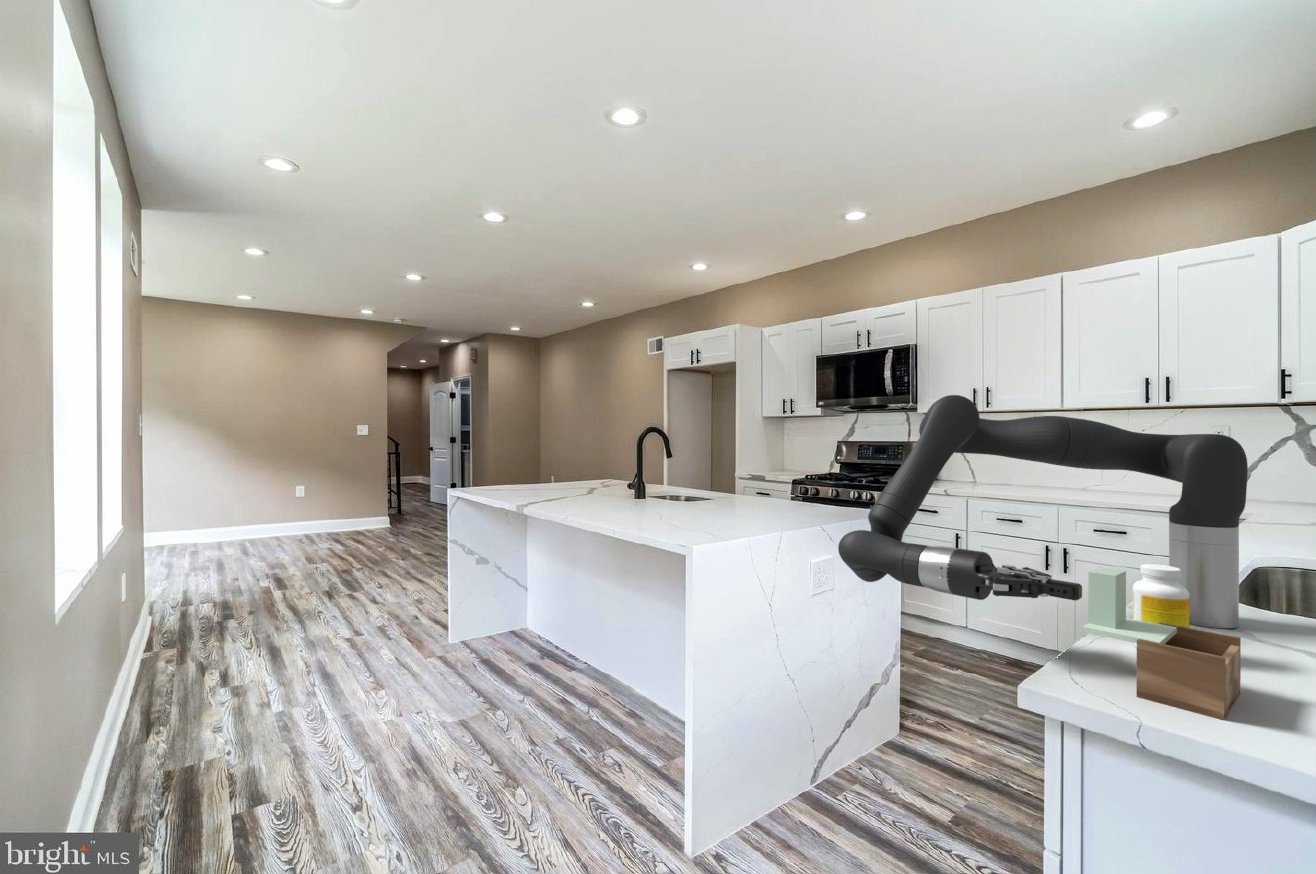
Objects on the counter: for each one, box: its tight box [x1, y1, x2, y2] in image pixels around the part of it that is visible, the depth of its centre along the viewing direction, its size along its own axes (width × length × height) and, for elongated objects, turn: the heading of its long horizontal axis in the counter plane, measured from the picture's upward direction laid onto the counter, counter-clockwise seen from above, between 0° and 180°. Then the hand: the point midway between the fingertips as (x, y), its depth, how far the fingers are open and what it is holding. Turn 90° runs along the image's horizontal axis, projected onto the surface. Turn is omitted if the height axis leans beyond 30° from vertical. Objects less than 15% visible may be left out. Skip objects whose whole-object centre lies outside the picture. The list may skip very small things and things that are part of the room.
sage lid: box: [1082, 566, 1177, 644], centre depth 80 cm, size 10×8×8 cm
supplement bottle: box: [1132, 563, 1191, 649], centre depth 91 cm, size 7×7×13 cm
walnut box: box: [1136, 622, 1242, 721], centre depth 76 cm, size 12×8×7 cm, turn 129°
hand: (1080, 592), depth 85 cm, fingers closed
